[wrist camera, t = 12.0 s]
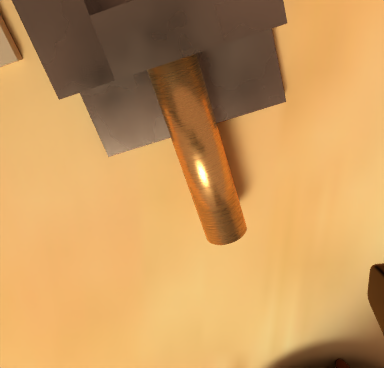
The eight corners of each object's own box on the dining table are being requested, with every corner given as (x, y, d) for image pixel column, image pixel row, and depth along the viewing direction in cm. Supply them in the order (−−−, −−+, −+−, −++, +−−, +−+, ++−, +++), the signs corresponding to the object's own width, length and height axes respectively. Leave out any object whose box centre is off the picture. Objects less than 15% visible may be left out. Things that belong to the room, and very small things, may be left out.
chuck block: (-27, -157, 14) (-87, -206, 11) (211, -259, 13) (221, -345, 10) (147, 237, 23) (142, 274, 20) (302, 193, 22) (323, 224, 19)
